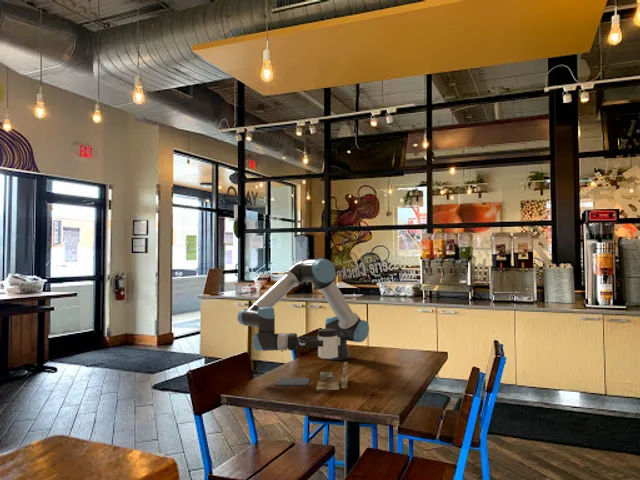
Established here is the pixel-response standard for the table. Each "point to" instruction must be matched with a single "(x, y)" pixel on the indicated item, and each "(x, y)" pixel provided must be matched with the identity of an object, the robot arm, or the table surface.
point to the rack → (344, 379)
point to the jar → (328, 343)
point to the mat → (293, 382)
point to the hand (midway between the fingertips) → (339, 341)
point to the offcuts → (327, 380)
